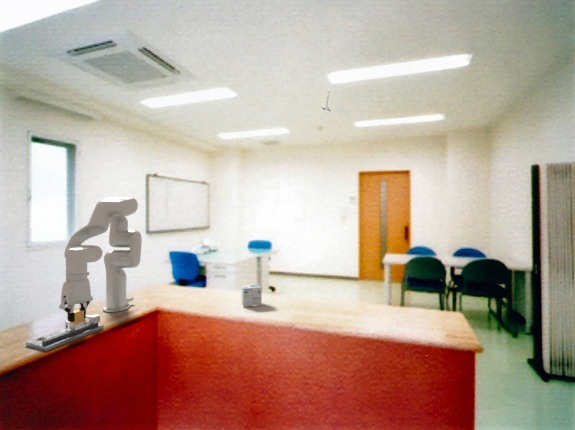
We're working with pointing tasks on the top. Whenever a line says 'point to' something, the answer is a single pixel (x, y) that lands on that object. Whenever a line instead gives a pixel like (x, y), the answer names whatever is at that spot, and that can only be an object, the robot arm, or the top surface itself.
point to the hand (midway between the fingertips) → (76, 319)
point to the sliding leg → (76, 321)
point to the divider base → (63, 341)
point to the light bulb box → (251, 295)
